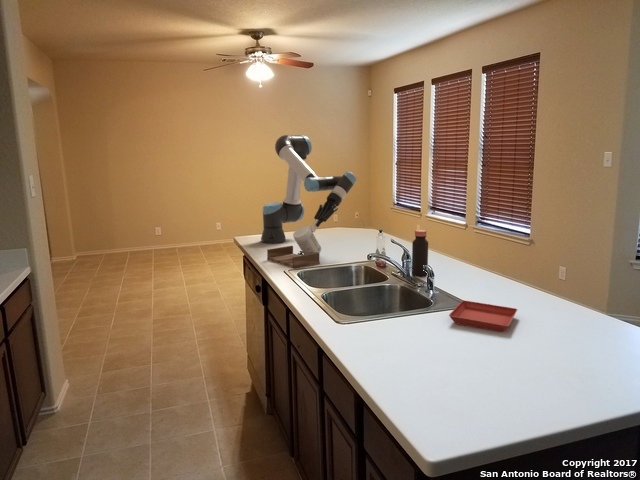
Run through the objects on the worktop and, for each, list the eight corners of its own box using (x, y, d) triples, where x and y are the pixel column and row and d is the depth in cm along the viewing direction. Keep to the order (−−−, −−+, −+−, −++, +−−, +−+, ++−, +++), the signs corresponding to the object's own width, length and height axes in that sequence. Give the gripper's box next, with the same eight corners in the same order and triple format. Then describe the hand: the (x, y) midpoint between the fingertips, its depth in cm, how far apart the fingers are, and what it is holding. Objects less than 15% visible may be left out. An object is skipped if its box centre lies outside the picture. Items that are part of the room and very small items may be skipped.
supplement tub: (314, 245, 251) (302, 224, 244) (325, 248, 244) (313, 226, 237) (301, 257, 248) (289, 235, 240) (312, 260, 240) (300, 238, 233)
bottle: (409, 276, 208) (410, 231, 204) (414, 272, 214) (415, 228, 210) (424, 277, 205) (426, 232, 201) (429, 274, 211) (430, 230, 207)
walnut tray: (267, 259, 242) (267, 249, 241) (291, 255, 251) (291, 245, 250) (294, 268, 223) (294, 257, 222) (319, 263, 233) (319, 252, 232)
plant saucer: (517, 317, 157) (518, 308, 156) (508, 335, 141) (508, 325, 141) (462, 309, 166) (462, 299, 165) (447, 325, 151) (448, 315, 150)
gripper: (348, 201, 247) (323, 236, 239) (332, 200, 257) (308, 234, 249) (340, 192, 243) (315, 227, 235) (324, 191, 253) (299, 224, 245)
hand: (311, 230), depth 242 cm, fingers closed
